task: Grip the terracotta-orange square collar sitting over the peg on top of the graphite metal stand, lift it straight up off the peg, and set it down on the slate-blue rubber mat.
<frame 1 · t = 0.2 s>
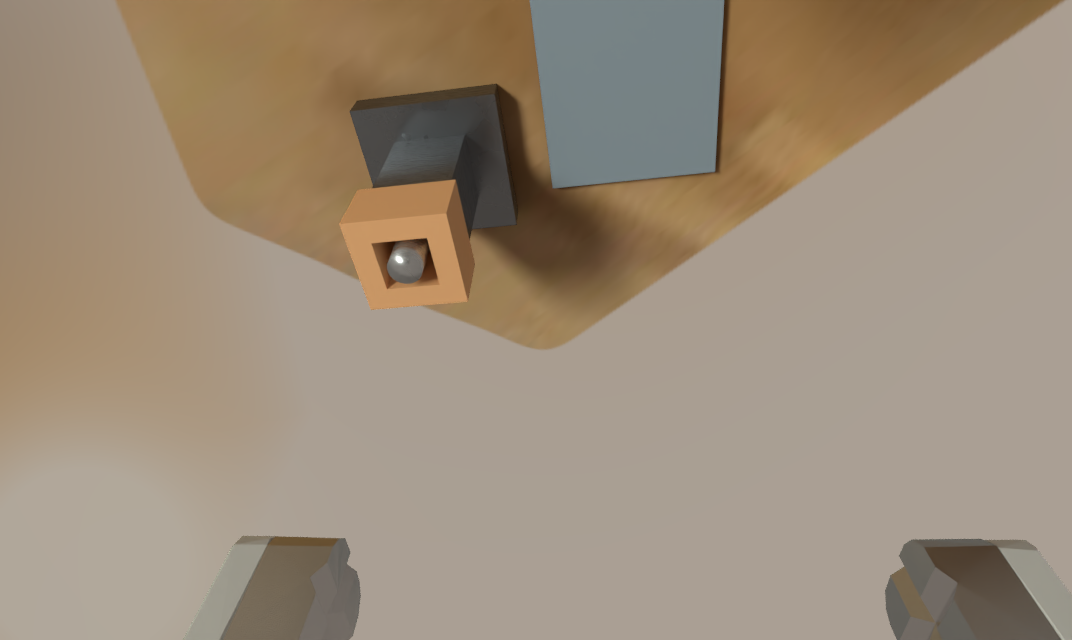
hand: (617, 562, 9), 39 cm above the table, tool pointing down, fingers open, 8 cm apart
mat: (627, 52, 42), on the table
collar: (418, 228, 39), point 10 cm above the table, touching stand
stand: (441, 159, 47), on the table
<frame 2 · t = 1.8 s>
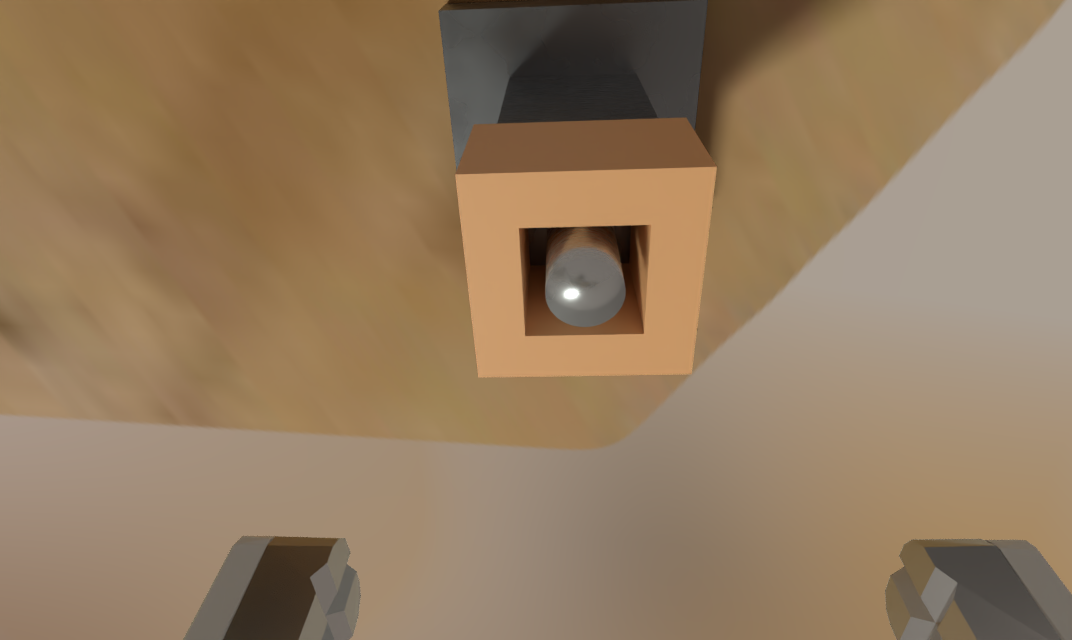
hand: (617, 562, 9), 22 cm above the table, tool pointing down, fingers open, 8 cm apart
collar: (579, 218, 19), point 10 cm above the table, touching stand
stand: (571, 124, 28), on the table
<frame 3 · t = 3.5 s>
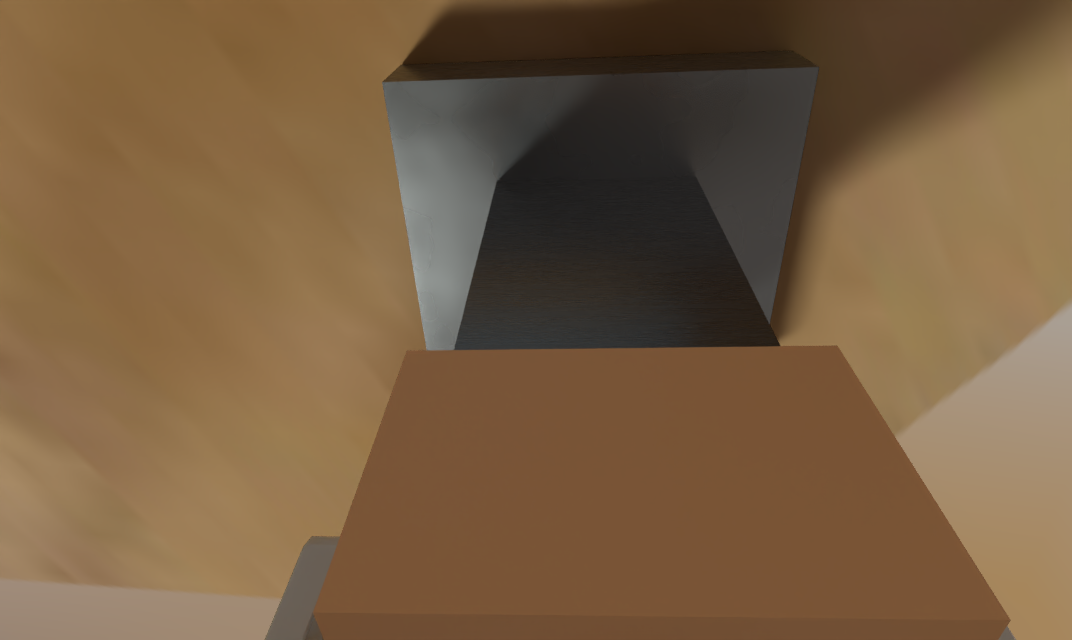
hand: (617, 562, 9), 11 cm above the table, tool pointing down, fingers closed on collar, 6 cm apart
collar: (612, 495, 10), point 10 cm above the table, touching gripper, stand
stand: (591, 235, 19), on the table
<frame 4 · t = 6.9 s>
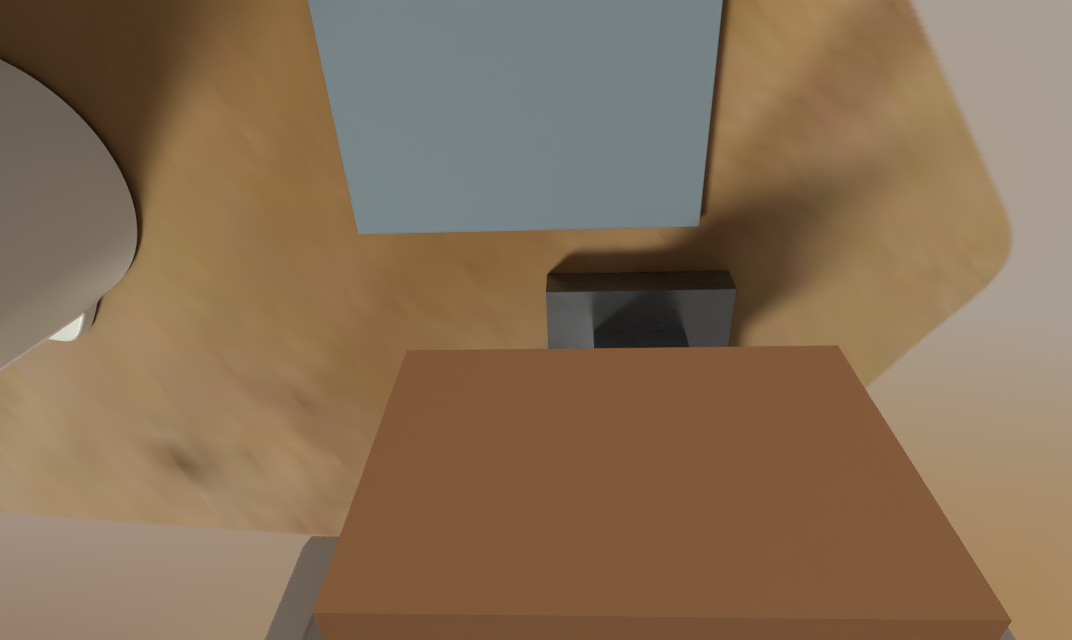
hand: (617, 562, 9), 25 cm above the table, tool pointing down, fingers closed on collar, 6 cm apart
mat: (520, 111, 30), on the table
collar: (612, 495, 10), point 24 cm above the table, touching gripper
stand: (633, 346, 38), on the table
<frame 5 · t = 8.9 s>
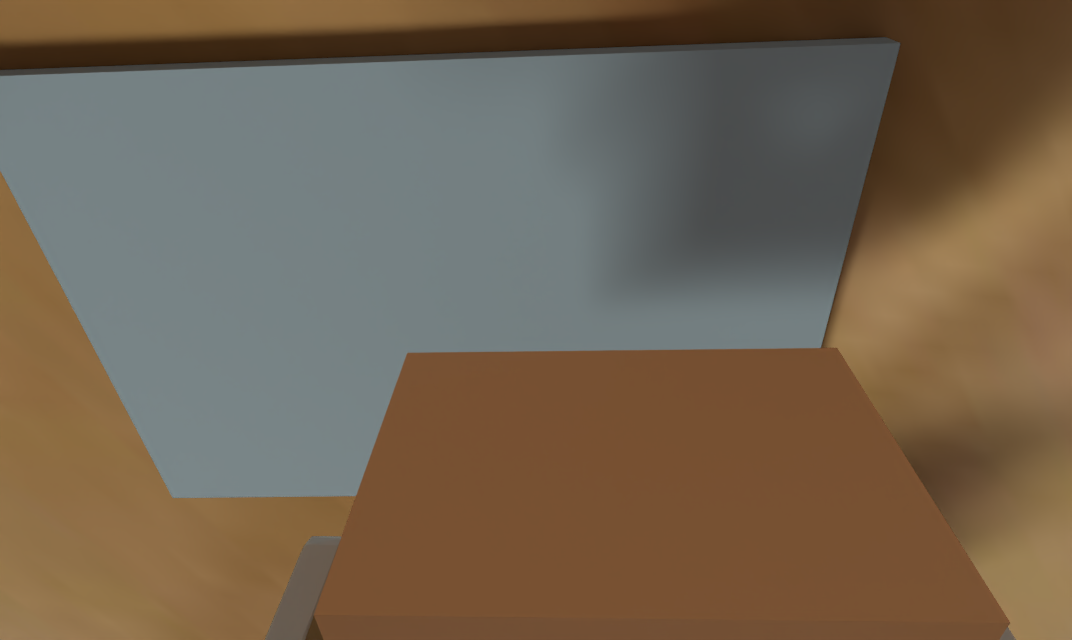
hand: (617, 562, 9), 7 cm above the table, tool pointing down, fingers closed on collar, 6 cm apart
mat: (452, 311, 16), on the table
collar: (612, 497, 10), point 6 cm above the table, touching gripper
when the fingers open (3 cm above the table, at t = 10.4 s): collar stays where it is, resting on mat.
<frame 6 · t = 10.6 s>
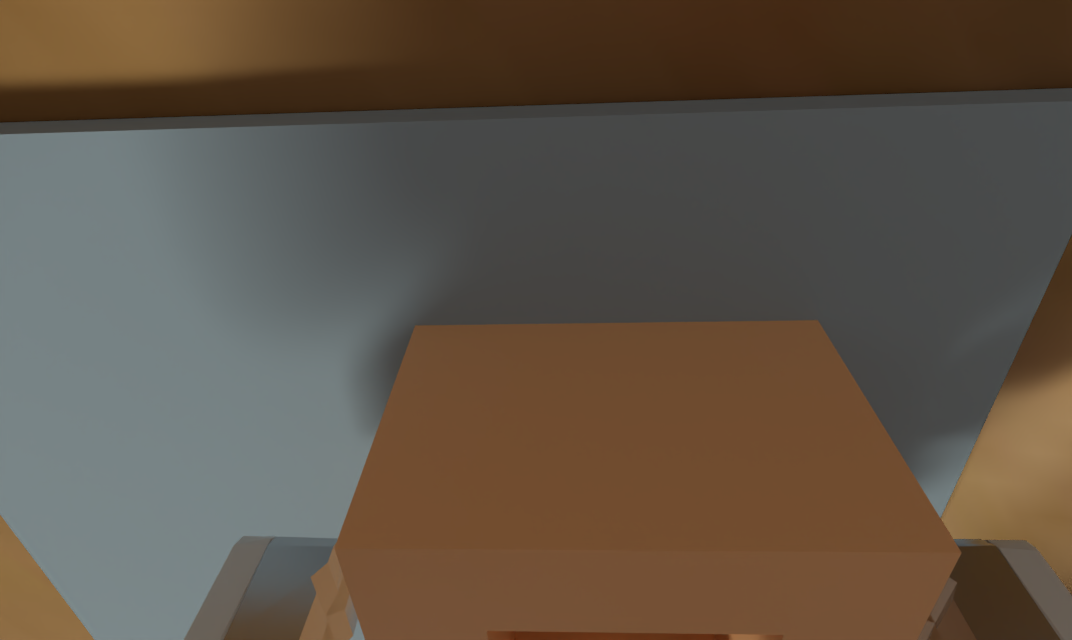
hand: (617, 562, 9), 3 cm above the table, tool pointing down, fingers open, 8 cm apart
mat: (447, 439, 12), on the table
collar: (608, 465, 11), point 1 cm above the table, touching mat
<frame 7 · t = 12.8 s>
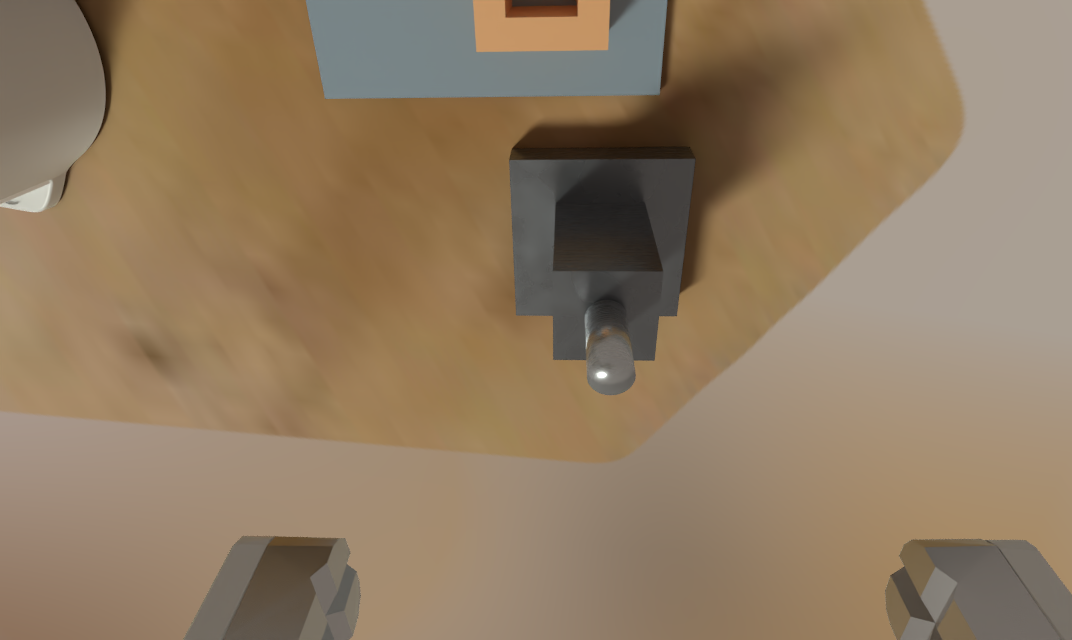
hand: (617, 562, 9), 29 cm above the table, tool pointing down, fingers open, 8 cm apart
stand: (597, 228, 38), on the table
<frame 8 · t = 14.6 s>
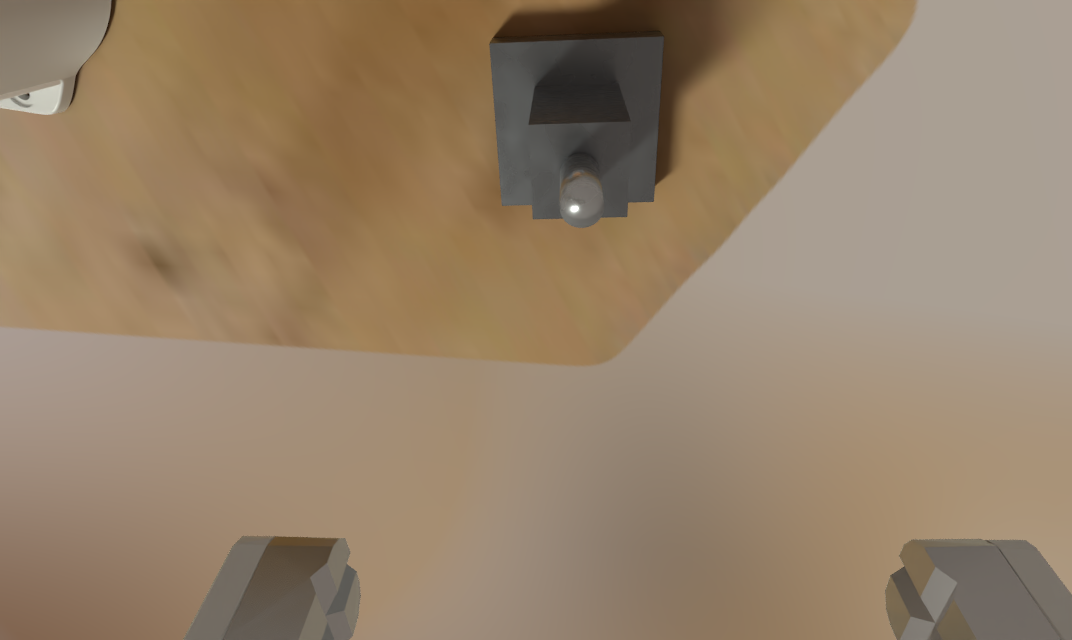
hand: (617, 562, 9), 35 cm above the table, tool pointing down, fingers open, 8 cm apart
stand: (576, 118, 40), on the table
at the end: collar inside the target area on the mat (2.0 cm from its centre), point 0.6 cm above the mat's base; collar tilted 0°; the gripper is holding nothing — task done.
